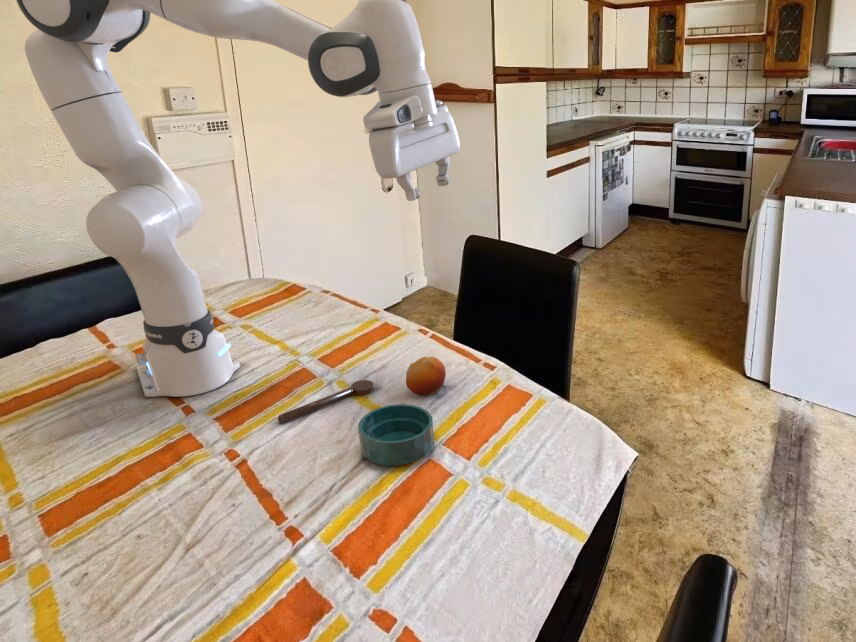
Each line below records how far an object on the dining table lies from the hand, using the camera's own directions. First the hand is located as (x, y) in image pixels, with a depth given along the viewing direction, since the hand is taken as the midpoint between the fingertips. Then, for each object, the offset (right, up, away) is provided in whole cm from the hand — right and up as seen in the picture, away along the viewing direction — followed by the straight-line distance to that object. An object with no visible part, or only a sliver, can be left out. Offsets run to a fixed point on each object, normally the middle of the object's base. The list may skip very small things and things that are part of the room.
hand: (429, 192), depth 109 cm
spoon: (-20, -37, +10) cm, 44 cm away
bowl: (-5, -45, -3) cm, 45 cm away
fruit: (-2, -35, +15) cm, 38 cm away
